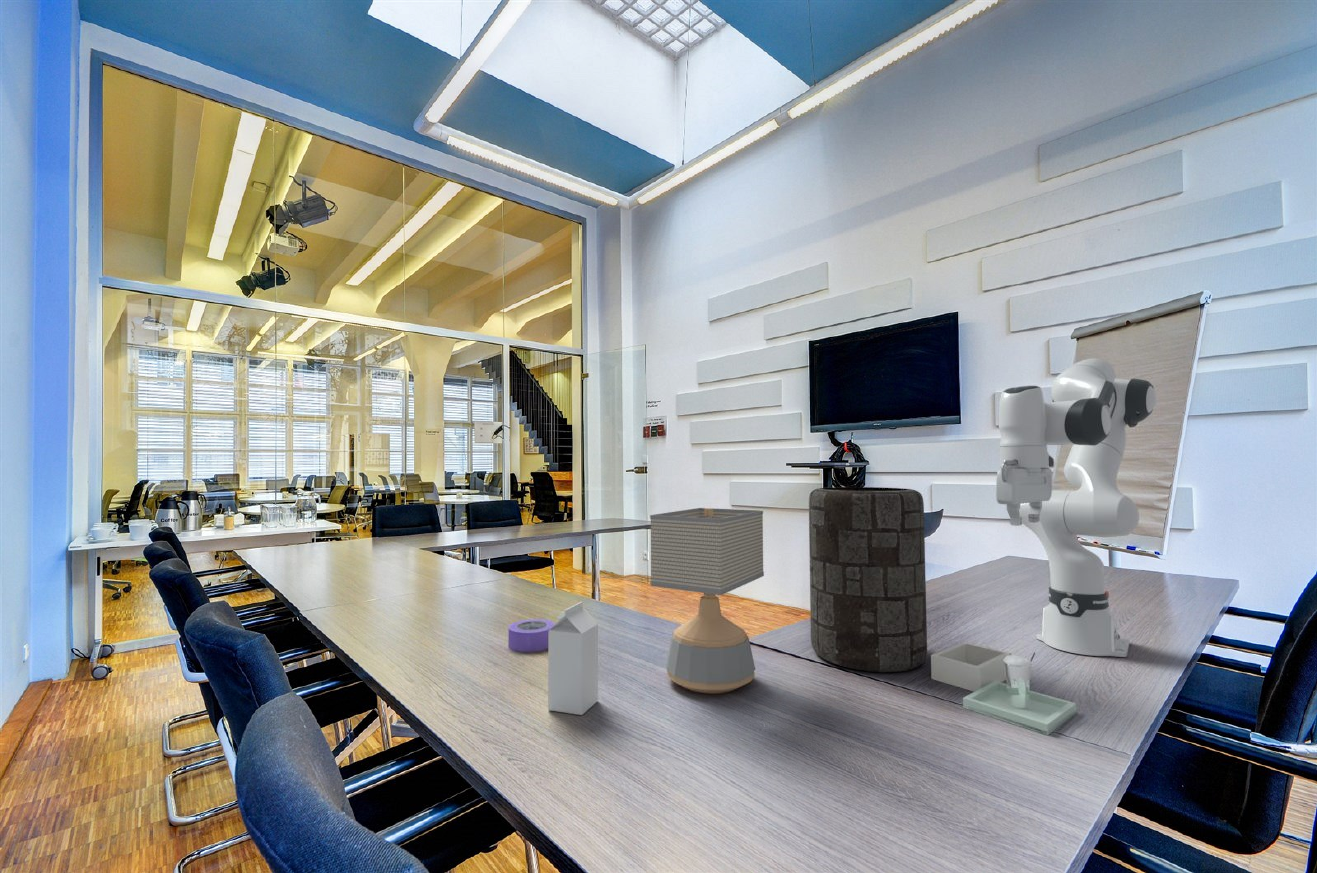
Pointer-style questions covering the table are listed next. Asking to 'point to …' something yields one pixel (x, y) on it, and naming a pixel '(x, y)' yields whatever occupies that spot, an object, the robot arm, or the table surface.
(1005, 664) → the milkshake
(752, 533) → the desk lamp
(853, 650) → the planter
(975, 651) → the frame
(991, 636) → the table surface
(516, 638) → the tape roll
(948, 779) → the table surface
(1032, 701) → the tray
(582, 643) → the milk carton
